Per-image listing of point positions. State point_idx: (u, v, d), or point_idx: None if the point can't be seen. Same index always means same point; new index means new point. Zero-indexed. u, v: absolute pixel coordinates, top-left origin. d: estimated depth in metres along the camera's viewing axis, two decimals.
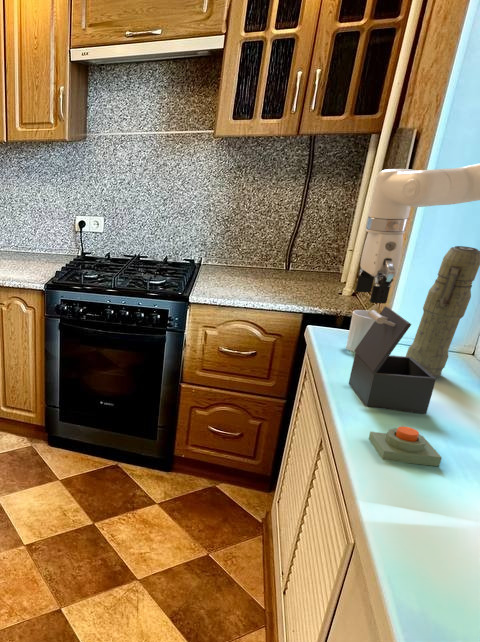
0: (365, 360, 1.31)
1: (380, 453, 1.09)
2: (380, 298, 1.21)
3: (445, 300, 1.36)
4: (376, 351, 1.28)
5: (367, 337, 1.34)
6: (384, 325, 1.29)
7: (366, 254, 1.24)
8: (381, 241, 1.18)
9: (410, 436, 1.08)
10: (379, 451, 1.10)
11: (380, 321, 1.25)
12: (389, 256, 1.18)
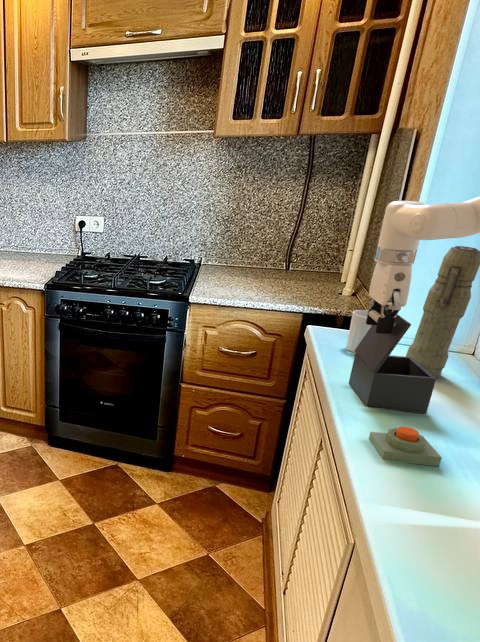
0: (365, 360, 1.31)
1: (380, 453, 1.09)
2: (385, 329, 1.24)
3: (445, 300, 1.36)
4: (376, 351, 1.28)
5: (367, 337, 1.34)
6: None
7: (375, 283, 1.26)
8: (391, 272, 1.20)
9: (410, 436, 1.08)
10: (379, 451, 1.10)
11: None
12: (398, 286, 1.20)
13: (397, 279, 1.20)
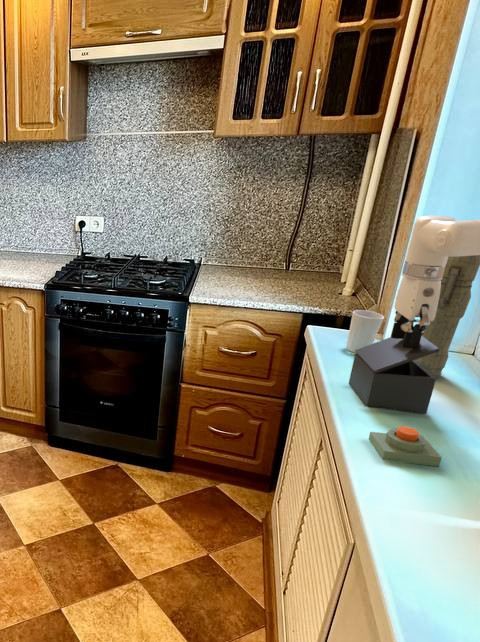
0: (367, 360, 1.31)
1: (380, 453, 1.09)
2: (412, 344, 1.24)
3: (445, 300, 1.36)
4: (385, 357, 1.28)
5: (378, 345, 1.34)
6: None
7: (402, 297, 1.25)
8: (419, 287, 1.19)
9: (410, 436, 1.08)
10: (379, 451, 1.10)
11: None
12: (427, 302, 1.19)
13: (425, 294, 1.20)
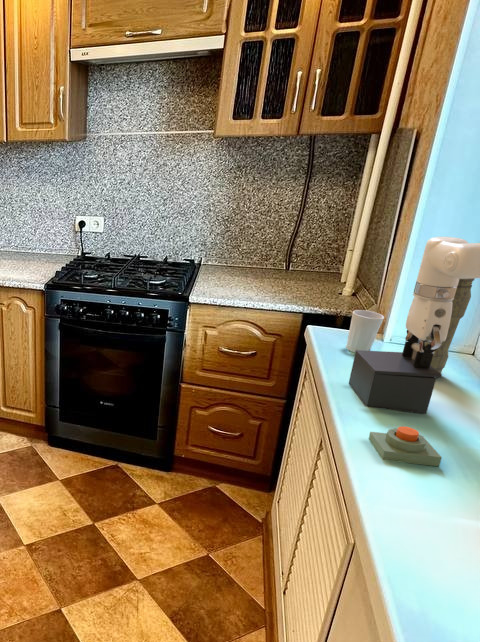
0: (368, 361, 1.31)
1: (380, 453, 1.09)
2: (424, 363, 1.25)
3: None
4: (387, 364, 1.28)
5: (380, 353, 1.35)
6: (408, 360, 1.30)
7: (413, 317, 1.26)
8: (431, 308, 1.20)
9: (410, 436, 1.08)
10: (379, 451, 1.10)
11: None
12: (438, 322, 1.20)
13: (437, 315, 1.21)
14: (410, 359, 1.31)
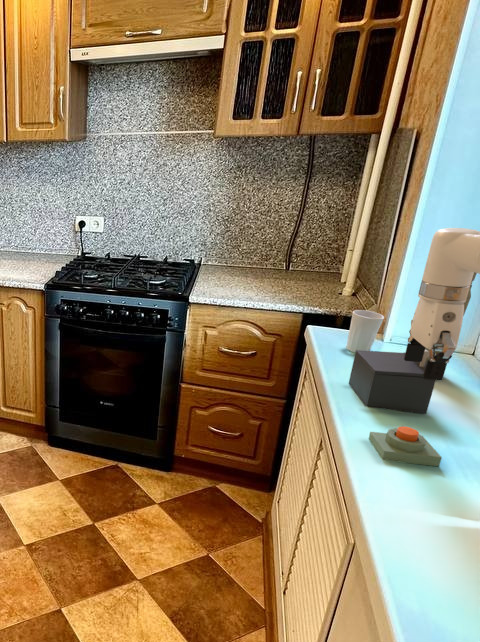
0: (368, 361, 1.31)
1: (380, 453, 1.09)
2: (435, 375, 1.05)
3: None
4: (387, 365, 1.28)
5: (379, 353, 1.35)
6: None
7: (418, 322, 1.09)
8: (438, 311, 1.03)
9: (410, 436, 1.08)
10: (379, 451, 1.10)
11: (424, 354, 1.25)
12: (447, 328, 1.02)
13: (446, 319, 1.03)
14: None
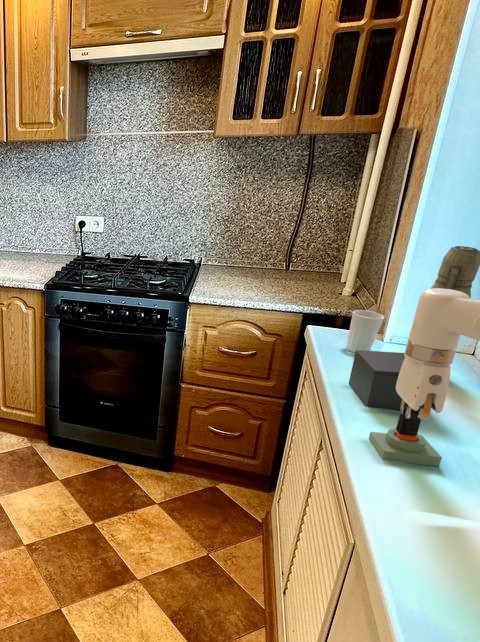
0: (368, 361, 1.31)
1: (380, 453, 1.09)
2: (410, 431, 1.08)
3: None
4: (387, 365, 1.28)
5: (379, 353, 1.35)
6: None
7: (404, 380, 1.07)
8: (425, 373, 1.01)
9: (409, 439, 1.08)
10: (379, 451, 1.10)
11: None
12: (433, 391, 1.01)
13: (432, 381, 1.01)
14: None
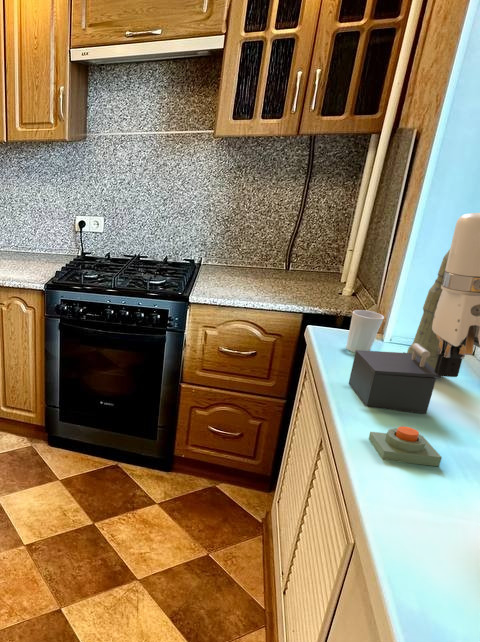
0: (368, 361, 1.31)
1: (380, 453, 1.09)
2: (450, 371, 1.00)
3: None
4: (387, 365, 1.28)
5: (379, 353, 1.35)
6: (407, 360, 1.30)
7: (442, 317, 0.99)
8: (466, 304, 0.93)
9: (410, 436, 1.08)
10: (379, 451, 1.10)
11: (424, 354, 1.25)
12: (476, 323, 0.93)
13: (474, 313, 0.94)
14: (410, 359, 1.31)
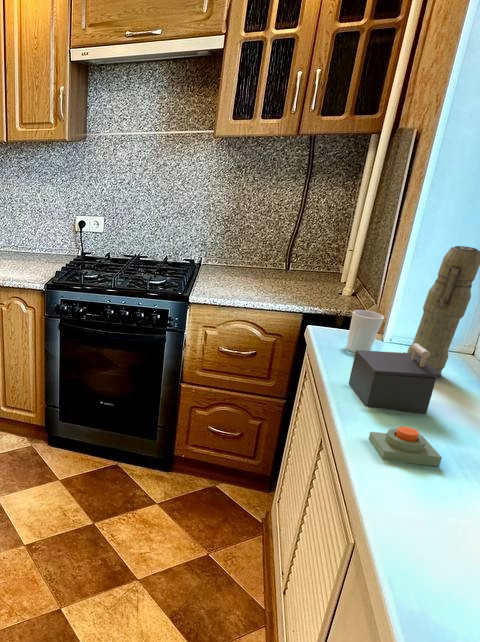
0: (368, 361, 1.31)
1: (380, 453, 1.09)
2: None
3: (445, 300, 1.36)
4: (387, 365, 1.28)
5: (379, 353, 1.35)
6: (407, 360, 1.30)
7: None
8: None
9: (410, 436, 1.08)
10: (379, 451, 1.10)
11: (424, 354, 1.25)
12: None
13: None
14: (410, 359, 1.31)
